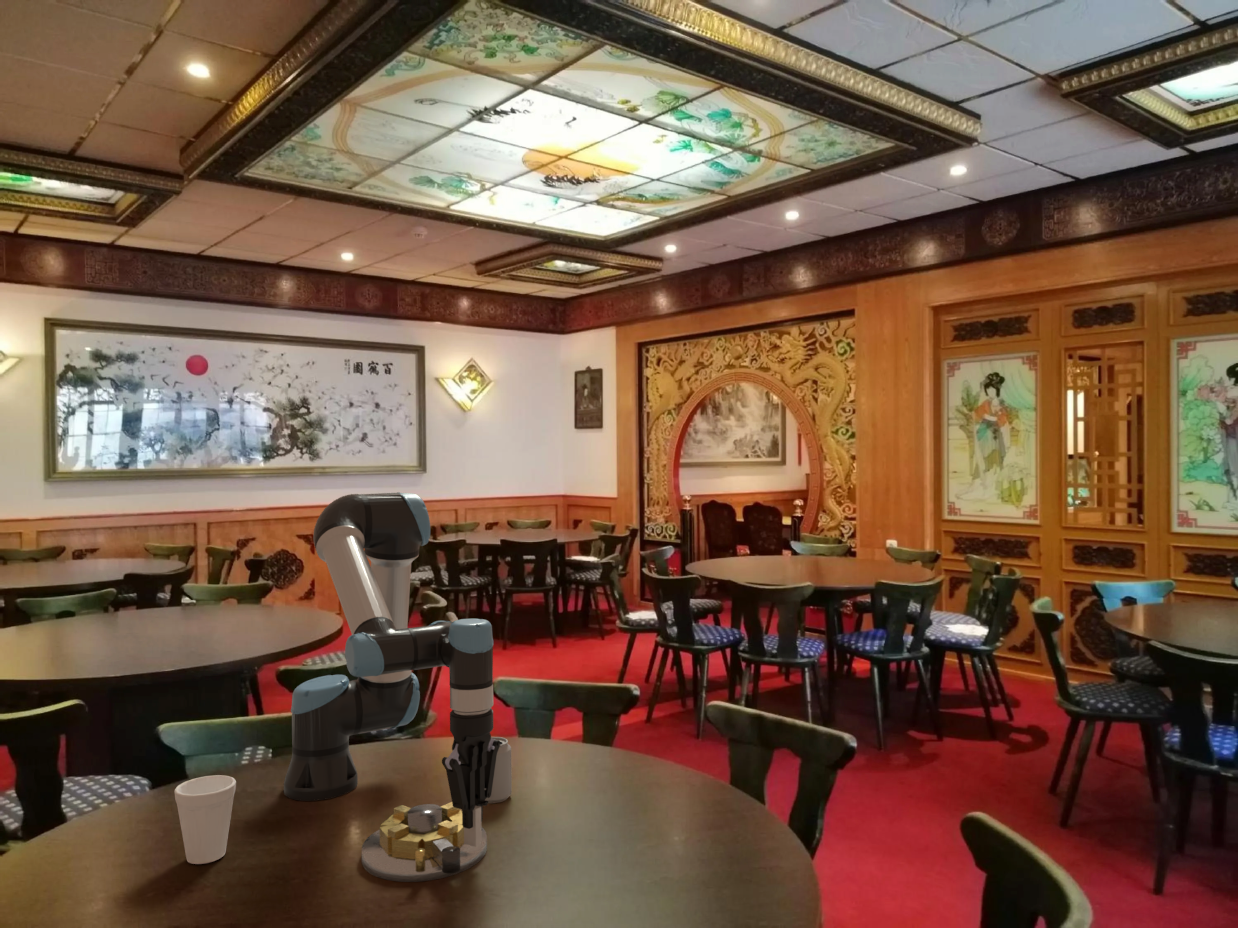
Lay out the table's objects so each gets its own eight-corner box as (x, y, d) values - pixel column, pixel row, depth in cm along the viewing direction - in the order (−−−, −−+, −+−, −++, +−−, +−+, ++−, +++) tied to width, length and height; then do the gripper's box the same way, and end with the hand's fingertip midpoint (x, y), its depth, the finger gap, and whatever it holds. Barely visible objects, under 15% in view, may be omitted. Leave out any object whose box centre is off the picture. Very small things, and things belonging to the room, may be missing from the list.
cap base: (343, 847, 157) (343, 806, 157) (454, 816, 170) (453, 779, 170) (390, 894, 139) (389, 848, 139) (509, 856, 152) (508, 814, 152)
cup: (205, 874, 147) (204, 798, 147) (161, 865, 150) (160, 791, 150) (249, 850, 156) (248, 778, 156) (207, 842, 160) (206, 772, 160)
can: (504, 805, 175) (504, 747, 175) (470, 803, 177) (469, 745, 177) (516, 792, 183) (515, 735, 183) (483, 789, 184) (482, 733, 184)
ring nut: (372, 833, 157) (371, 810, 157) (450, 815, 165) (450, 793, 165) (409, 884, 138) (409, 858, 138) (496, 861, 146) (496, 836, 146)
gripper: (479, 697, 158) (481, 825, 158) (429, 715, 147) (430, 853, 147) (511, 702, 154) (513, 834, 154) (462, 721, 143) (463, 863, 143)
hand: (472, 843), depth 150 cm, fingers closed
